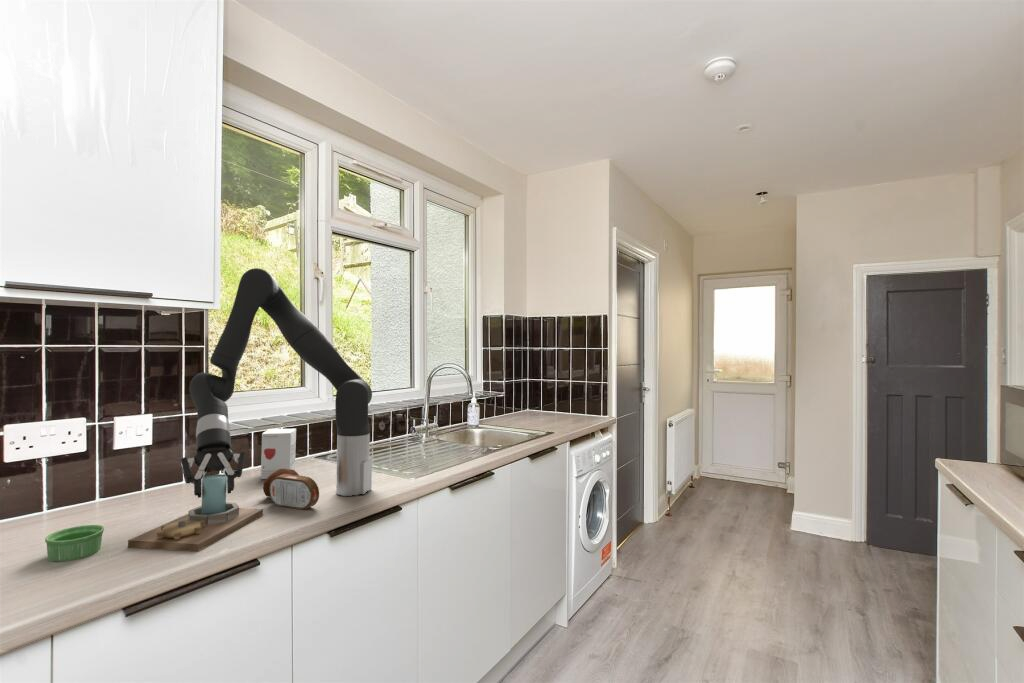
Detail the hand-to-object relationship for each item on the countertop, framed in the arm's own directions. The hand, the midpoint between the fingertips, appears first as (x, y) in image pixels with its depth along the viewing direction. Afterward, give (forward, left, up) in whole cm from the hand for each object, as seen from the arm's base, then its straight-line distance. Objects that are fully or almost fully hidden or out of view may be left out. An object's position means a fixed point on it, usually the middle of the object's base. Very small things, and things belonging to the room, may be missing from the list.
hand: (214, 493), depth 115 cm
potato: (-3, -24, -8) cm, 26 cm away
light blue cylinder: (+1, -1, -6) cm, 6 cm away
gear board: (+1, +3, -8) cm, 8 cm away
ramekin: (+17, +18, -8) cm, 26 cm away
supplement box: (+11, -44, -8) cm, 46 cm away
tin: (-11, -15, -8) cm, 20 cm away
